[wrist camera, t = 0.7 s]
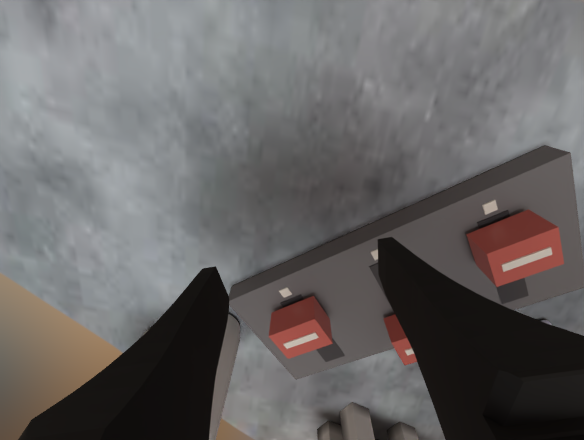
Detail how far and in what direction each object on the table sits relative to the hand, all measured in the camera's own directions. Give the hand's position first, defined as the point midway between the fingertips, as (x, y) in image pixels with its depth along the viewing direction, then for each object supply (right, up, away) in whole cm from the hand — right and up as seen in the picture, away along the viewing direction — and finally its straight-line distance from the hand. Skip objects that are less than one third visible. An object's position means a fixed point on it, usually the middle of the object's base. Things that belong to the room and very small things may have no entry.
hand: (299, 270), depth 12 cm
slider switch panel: (+8, -3, +12) cm, 15 cm away
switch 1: (0, -6, +11) cm, 13 cm away
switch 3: (+14, +1, +7) cm, 16 cm away
